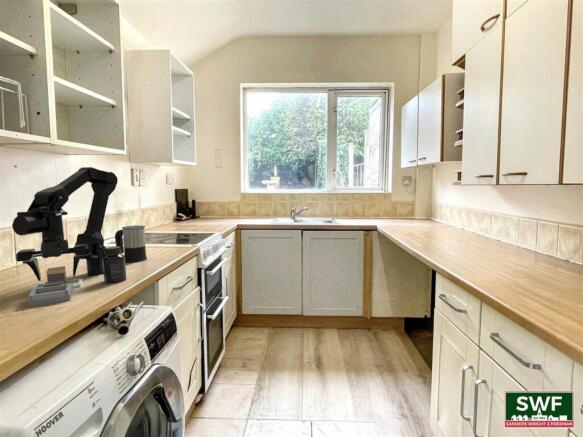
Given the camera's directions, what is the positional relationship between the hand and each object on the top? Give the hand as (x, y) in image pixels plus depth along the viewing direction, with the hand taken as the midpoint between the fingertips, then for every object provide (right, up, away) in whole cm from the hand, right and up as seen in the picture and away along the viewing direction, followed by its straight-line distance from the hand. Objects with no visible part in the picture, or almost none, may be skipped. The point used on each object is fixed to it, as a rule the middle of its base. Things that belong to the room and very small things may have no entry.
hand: (57, 278), depth 110 cm
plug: (0, -3, 0) cm, 3 cm away
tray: (0, -3, 0) cm, 3 cm away
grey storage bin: (+6, -4, -10) cm, 12 cm away
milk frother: (+5, 0, +36) cm, 36 cm away
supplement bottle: (+16, -3, +6) cm, 17 cm away
